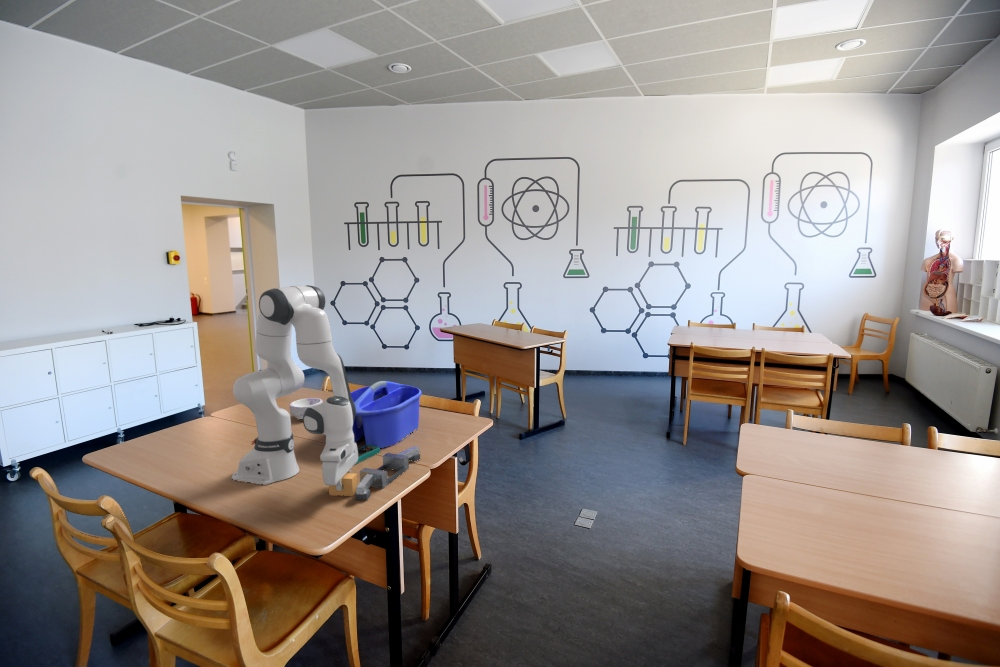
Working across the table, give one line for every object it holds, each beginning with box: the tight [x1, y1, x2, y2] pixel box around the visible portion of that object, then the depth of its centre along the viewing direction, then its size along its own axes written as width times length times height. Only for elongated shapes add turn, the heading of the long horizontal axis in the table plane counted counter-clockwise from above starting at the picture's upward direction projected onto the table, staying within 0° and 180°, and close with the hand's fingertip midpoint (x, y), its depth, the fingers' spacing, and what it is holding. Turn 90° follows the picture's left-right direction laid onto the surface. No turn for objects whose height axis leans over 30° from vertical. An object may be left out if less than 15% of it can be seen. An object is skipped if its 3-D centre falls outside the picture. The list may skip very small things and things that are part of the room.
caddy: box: [350, 380, 422, 449], centre depth 221 cm, size 32×45×23 cm
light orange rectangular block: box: [328, 472, 358, 497], centre depth 167 cm, size 8×4×6 cm, turn 85°
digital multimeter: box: [354, 444, 381, 466], centre depth 197 cm, size 7×15×3 cm, turn 150°
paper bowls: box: [289, 397, 324, 420], centre depth 246 cm, size 15×15×8 cm
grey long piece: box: [354, 445, 421, 501], centre depth 179 cm, size 37×9×5 cm, turn 160°
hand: (343, 485), depth 167 cm, fingers closed on light orange rectangular block, 4 cm apart
